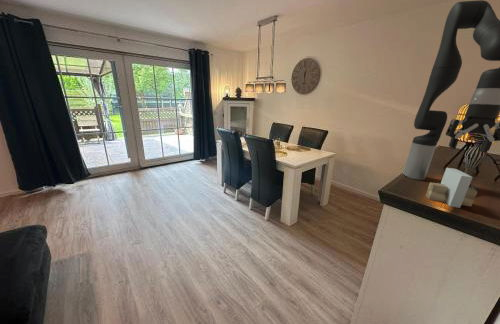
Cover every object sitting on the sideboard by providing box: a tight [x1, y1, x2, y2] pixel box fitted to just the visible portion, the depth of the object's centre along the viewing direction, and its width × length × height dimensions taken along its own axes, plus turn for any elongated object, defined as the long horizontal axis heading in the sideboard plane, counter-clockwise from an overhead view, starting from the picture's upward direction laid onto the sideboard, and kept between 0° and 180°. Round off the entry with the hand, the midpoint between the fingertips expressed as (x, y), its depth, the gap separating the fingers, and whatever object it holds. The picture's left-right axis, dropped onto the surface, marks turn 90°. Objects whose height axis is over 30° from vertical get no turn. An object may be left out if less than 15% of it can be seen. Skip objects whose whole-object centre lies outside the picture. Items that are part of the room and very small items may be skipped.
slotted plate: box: [440, 167, 474, 209], centre depth 76 cm, size 10×3×12 cm, turn 160°
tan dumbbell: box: [425, 182, 478, 207], centre depth 77 cm, size 3×13×6 cm, turn 70°
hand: (467, 150), depth 72 cm, fingers open, 8 cm apart
